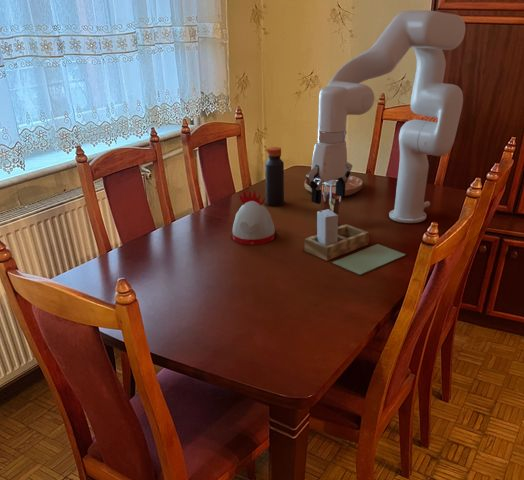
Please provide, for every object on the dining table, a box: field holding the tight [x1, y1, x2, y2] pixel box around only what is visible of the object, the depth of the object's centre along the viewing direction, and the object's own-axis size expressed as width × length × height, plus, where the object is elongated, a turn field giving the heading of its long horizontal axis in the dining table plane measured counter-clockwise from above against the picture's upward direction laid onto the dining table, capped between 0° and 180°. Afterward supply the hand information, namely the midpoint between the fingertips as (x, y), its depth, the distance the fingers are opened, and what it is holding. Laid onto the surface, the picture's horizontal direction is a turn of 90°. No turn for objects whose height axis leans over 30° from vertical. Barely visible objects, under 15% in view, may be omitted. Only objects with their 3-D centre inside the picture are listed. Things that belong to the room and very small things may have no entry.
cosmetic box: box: [316, 210, 339, 246], centre depth 163 cm, size 6×4×12 cm
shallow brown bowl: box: [304, 174, 364, 197], centre depth 214 cm, size 23×23×4 cm
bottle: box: [264, 146, 285, 207], centre depth 199 cm, size 7×7×20 cm
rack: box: [303, 223, 370, 261], centre depth 167 cm, size 18×10×4 cm, turn 129°
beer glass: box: [320, 180, 343, 227], centre depth 179 cm, size 7×7×15 cm
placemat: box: [332, 243, 407, 276], centre depth 160 cm, size 20×11×1 cm, turn 129°
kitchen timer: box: [232, 190, 276, 246], centre depth 174 cm, size 14×14×15 cm
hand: (328, 199), depth 157 cm, fingers open, 9 cm apart
